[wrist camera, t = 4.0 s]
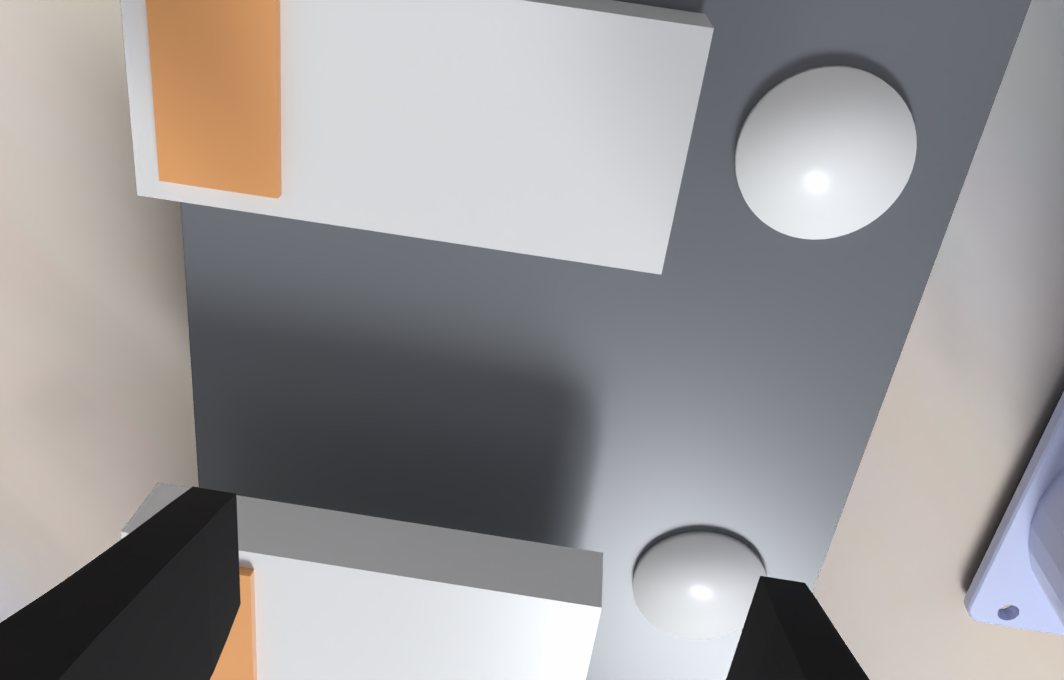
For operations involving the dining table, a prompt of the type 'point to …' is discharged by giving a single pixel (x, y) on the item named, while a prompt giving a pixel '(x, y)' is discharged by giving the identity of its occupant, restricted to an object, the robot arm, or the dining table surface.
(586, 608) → the switch on end
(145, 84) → the switch middle
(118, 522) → the dining table surface
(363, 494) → the switch panel
